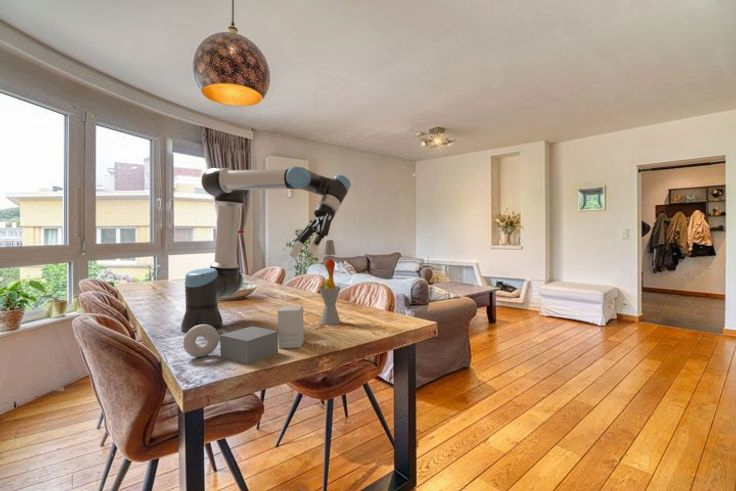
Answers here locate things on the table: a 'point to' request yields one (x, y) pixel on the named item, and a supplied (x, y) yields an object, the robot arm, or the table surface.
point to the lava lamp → (330, 290)
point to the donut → (194, 333)
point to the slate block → (248, 344)
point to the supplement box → (290, 327)
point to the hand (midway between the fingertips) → (300, 254)
